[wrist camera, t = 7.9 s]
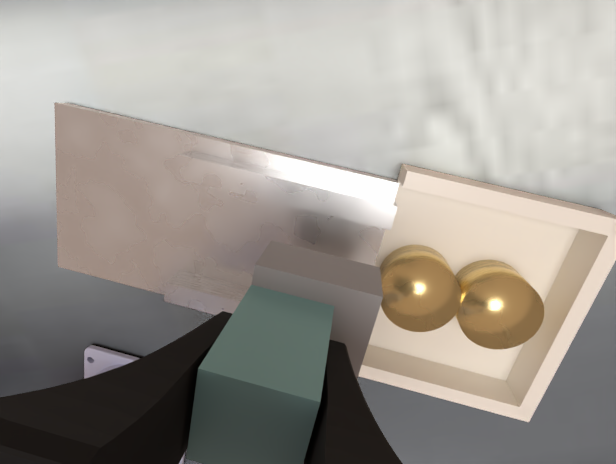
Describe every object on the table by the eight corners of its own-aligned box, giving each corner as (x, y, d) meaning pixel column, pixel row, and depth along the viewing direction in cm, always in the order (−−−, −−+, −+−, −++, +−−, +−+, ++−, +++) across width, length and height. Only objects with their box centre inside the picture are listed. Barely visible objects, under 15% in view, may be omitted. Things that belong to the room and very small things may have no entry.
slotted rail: (351, 334, 23) (350, 363, 21) (69, 260, 24) (34, 278, 22) (397, 180, 20) (402, 190, 17) (68, 103, 21) (26, 102, 19)
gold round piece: (512, 329, 21) (530, 355, 19) (441, 318, 22) (450, 342, 19) (533, 265, 20) (555, 285, 18) (456, 254, 20) (468, 272, 18)
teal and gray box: (351, 359, 16) (344, 527, 10) (254, 333, 17) (183, 479, 10) (379, 267, 15) (393, 392, 8) (271, 240, 15) (201, 341, 9)
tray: (511, 390, 23) (528, 422, 21) (348, 346, 24) (346, 373, 21) (601, 209, 19) (635, 223, 17) (402, 163, 20) (407, 170, 17)
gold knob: (445, 311, 21) (455, 335, 19) (375, 305, 22) (376, 328, 20) (455, 247, 20) (467, 264, 18) (380, 242, 21) (383, 258, 18)
